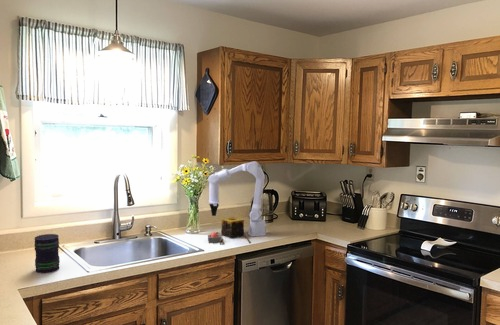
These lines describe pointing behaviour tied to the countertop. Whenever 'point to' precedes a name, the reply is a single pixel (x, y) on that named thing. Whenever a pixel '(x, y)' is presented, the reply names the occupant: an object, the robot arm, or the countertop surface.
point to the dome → (214, 234)
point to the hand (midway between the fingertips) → (213, 215)
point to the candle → (232, 227)
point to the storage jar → (47, 253)
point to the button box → (214, 239)
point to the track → (223, 242)
